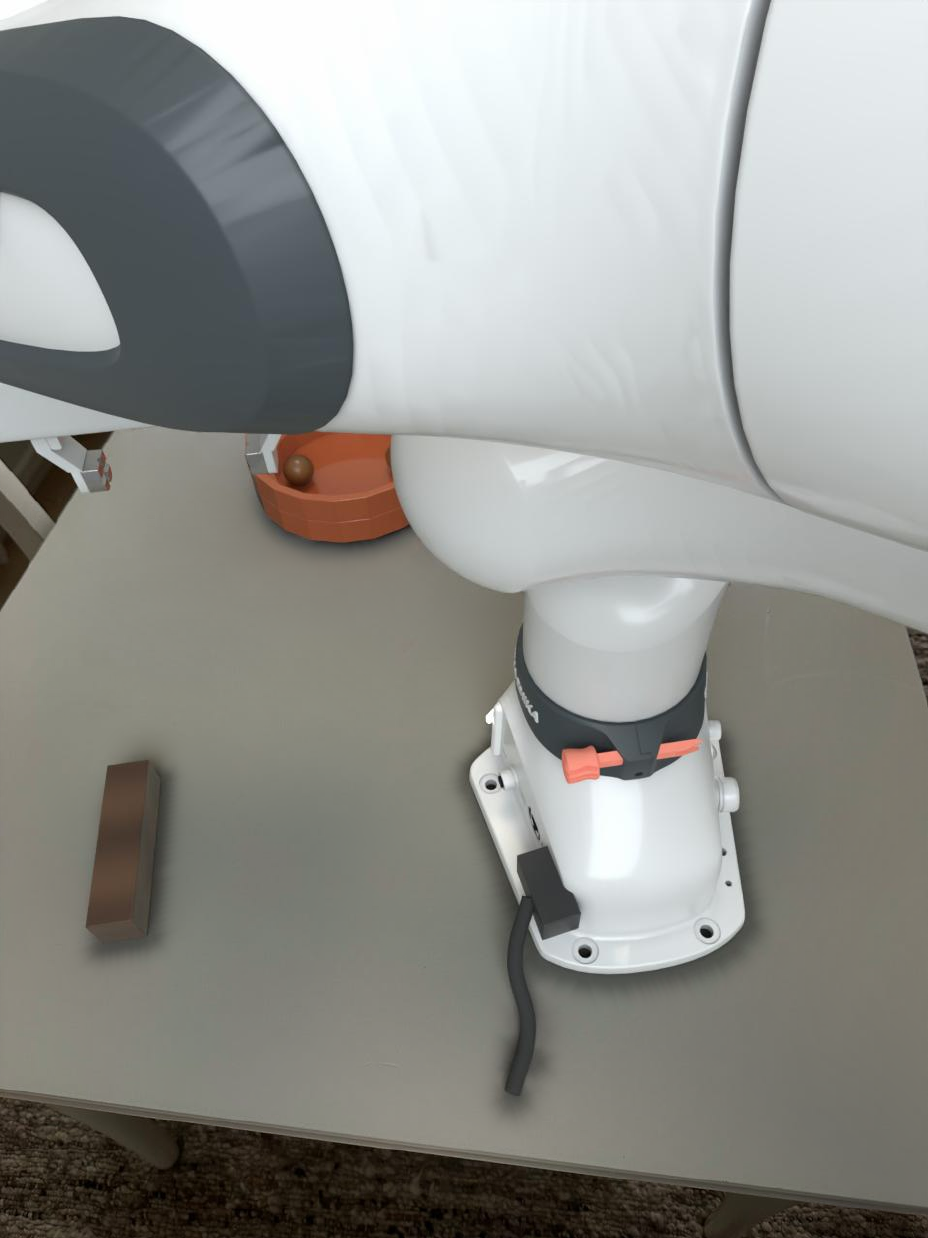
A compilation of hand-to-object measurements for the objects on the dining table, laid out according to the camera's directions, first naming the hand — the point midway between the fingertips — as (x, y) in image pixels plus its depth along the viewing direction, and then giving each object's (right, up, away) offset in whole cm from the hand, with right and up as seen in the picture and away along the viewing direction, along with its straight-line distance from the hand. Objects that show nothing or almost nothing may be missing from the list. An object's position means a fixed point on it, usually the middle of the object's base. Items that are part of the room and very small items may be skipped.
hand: (182, 476), depth 49 cm
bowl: (+5, +6, +37) cm, 38 cm away
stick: (-8, -25, +13) cm, 29 cm away
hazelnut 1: (0, +5, +37) cm, 37 cm away
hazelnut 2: (+10, +6, +37) cm, 39 cm away
